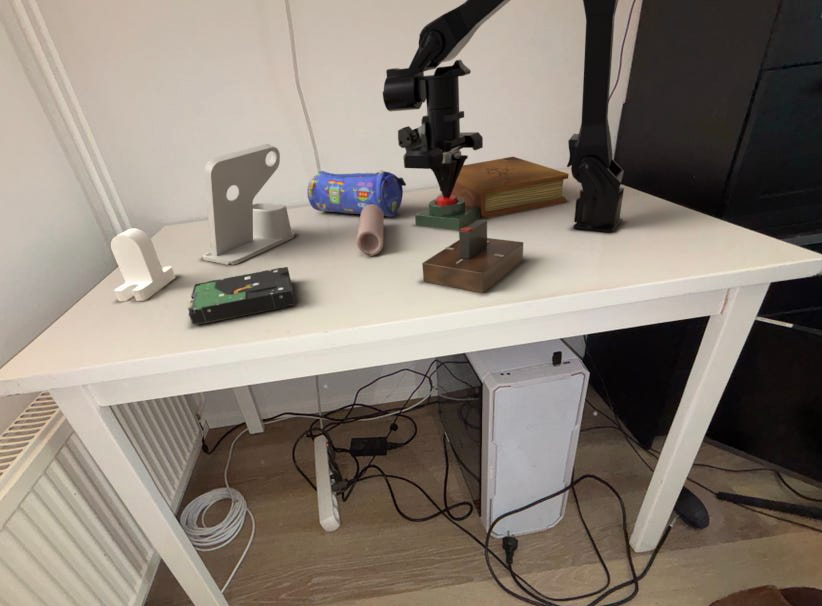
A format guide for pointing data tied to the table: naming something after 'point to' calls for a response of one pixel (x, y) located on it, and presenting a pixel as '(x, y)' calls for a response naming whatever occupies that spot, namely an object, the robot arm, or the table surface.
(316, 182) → the pencil case
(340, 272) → the table surface
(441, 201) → the button
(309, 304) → the table surface
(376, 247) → the beige hollow tube
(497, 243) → the panel
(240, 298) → the disk drive
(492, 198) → the diary
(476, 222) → the knob
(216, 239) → the grey bracket stand
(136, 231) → the white stand
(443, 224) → the button box
